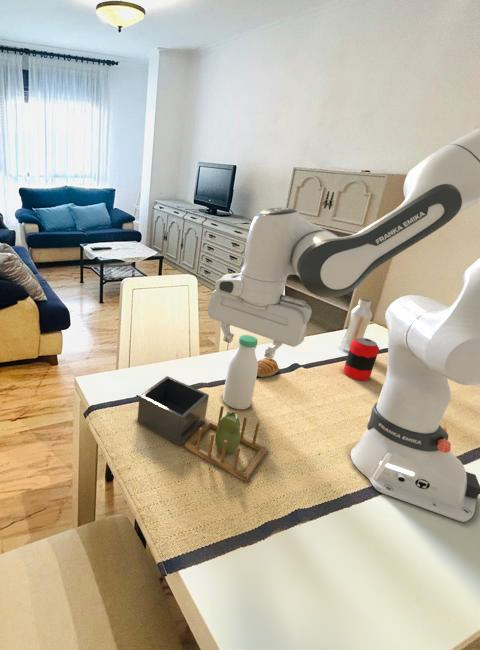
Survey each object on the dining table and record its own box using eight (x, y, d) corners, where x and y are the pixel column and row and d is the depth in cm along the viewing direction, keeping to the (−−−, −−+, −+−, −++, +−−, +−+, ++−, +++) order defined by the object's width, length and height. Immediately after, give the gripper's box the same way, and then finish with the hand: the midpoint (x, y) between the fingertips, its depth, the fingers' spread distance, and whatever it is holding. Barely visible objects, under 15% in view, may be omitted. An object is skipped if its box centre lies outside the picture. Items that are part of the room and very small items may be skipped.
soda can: (371, 375, 126) (382, 342, 121) (366, 383, 121) (377, 350, 116) (346, 366, 131) (356, 334, 126) (340, 374, 125) (350, 341, 121)
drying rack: (266, 451, 90) (271, 427, 88) (245, 482, 81) (251, 456, 79) (208, 423, 99) (212, 400, 96) (184, 447, 90) (188, 423, 88)
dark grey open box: (204, 420, 100) (208, 394, 97) (179, 445, 91) (183, 418, 88) (164, 400, 107) (166, 375, 104) (137, 422, 98) (139, 395, 95)
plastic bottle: (343, 344, 146) (358, 295, 139) (363, 351, 141) (379, 301, 134) (336, 349, 142) (351, 298, 135) (356, 356, 137) (372, 304, 130)
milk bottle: (252, 412, 104) (266, 346, 97) (223, 407, 105) (234, 342, 98) (249, 396, 111) (261, 333, 104) (221, 391, 112) (232, 330, 105)
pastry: (264, 381, 119) (267, 371, 117) (245, 372, 123) (247, 362, 122) (279, 372, 125) (282, 361, 123) (260, 363, 129) (262, 353, 128)
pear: (240, 448, 91) (247, 413, 87) (233, 461, 87) (240, 425, 83) (218, 438, 94) (224, 404, 90) (209, 451, 90) (215, 415, 86)
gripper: (318, 299, 74) (301, 362, 79) (222, 274, 86) (213, 329, 92) (308, 307, 70) (291, 373, 75) (208, 279, 82) (199, 337, 87)
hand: (247, 348), depth 83 cm, fingers open, 8 cm apart
